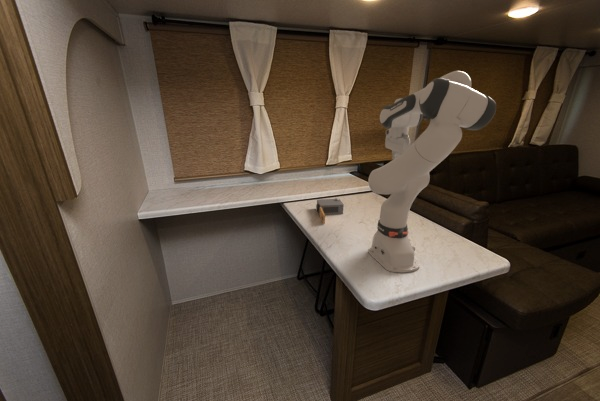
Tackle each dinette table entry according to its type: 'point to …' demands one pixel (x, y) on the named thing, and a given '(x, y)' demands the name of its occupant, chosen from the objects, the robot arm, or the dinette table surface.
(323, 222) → the side door
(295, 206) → the dinette table surface
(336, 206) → the camera block
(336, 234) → the dinette table surface
